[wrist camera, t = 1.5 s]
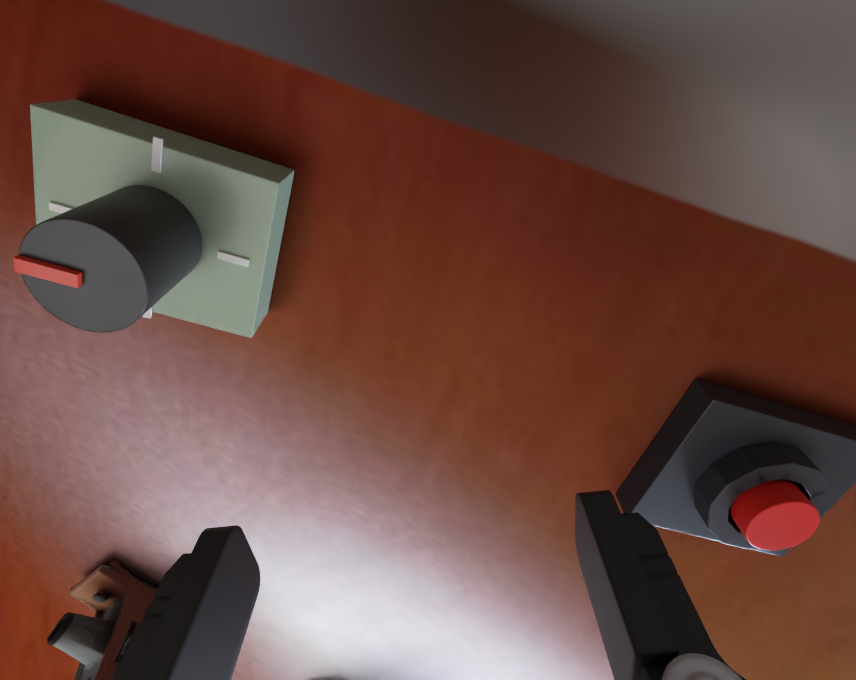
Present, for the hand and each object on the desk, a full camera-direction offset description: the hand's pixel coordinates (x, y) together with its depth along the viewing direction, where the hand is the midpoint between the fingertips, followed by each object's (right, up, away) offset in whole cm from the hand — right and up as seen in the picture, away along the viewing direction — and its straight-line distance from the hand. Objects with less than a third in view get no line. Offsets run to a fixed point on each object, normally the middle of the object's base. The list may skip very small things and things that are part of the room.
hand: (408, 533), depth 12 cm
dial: (-12, +9, +11) cm, 19 cm away
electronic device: (-22, -15, +28) cm, 38 cm away
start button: (+21, -5, +18) cm, 28 cm away
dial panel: (-12, +11, +13) cm, 21 cm away
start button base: (+21, -3, +21) cm, 30 cm away
